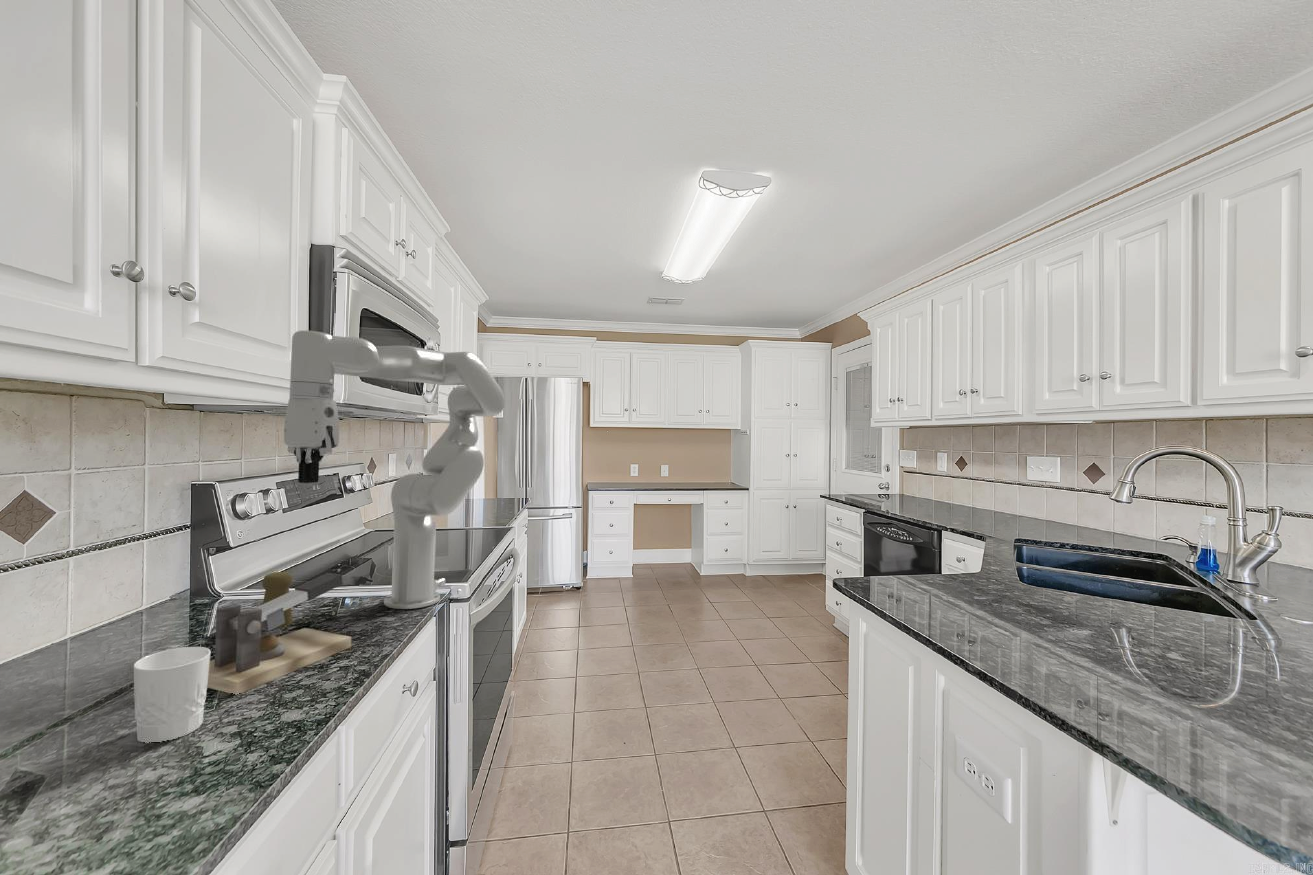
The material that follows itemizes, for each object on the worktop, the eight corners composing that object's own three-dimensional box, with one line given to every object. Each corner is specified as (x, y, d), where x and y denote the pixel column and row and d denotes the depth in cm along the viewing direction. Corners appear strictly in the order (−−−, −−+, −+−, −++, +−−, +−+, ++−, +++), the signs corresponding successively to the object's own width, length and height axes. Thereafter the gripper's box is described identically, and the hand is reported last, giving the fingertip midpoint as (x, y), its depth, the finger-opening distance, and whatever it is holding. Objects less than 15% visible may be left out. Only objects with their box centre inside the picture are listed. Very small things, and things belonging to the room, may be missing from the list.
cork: (274, 630, 110) (277, 577, 110) (250, 627, 112) (252, 575, 112) (299, 621, 116) (301, 570, 116) (276, 618, 118) (278, 568, 118)
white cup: (128, 729, 73) (131, 656, 73) (203, 709, 79) (206, 642, 79) (132, 753, 68) (135, 675, 68) (212, 730, 74) (215, 658, 74)
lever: (330, 591, 108) (327, 572, 107) (343, 593, 107) (341, 574, 106) (230, 640, 90) (227, 618, 89) (246, 643, 89) (242, 621, 88)
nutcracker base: (304, 637, 107) (307, 580, 107) (350, 647, 104) (353, 587, 104) (184, 681, 87) (187, 611, 87) (236, 694, 84) (239, 621, 84)
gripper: (355, 394, 110) (352, 483, 110) (301, 394, 115) (298, 479, 115) (323, 391, 103) (319, 486, 103) (267, 390, 108) (263, 481, 108)
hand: (308, 482), depth 109 cm, fingers closed
